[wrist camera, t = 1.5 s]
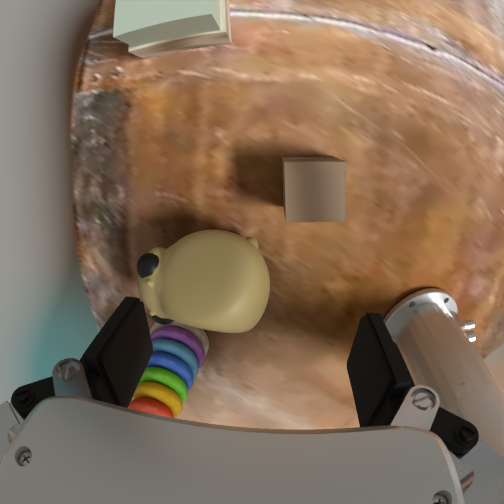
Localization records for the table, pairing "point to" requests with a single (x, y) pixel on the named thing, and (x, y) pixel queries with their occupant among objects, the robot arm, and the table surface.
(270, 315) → the table surface
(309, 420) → the table surface
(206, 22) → the top block
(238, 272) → the toy frog
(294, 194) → the walnut cube
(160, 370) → the stacking toy
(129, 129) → the table surface
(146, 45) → the base block
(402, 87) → the table surface
